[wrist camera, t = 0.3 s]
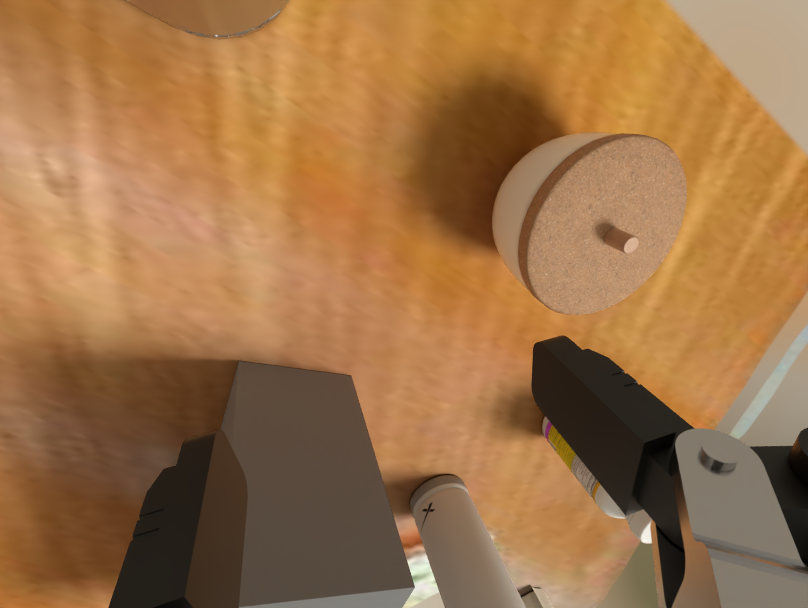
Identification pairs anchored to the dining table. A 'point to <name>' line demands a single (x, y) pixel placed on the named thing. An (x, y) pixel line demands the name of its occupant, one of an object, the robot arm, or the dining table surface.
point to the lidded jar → (589, 218)
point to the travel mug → (461, 547)
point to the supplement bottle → (596, 485)
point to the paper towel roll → (537, 599)
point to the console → (311, 494)
